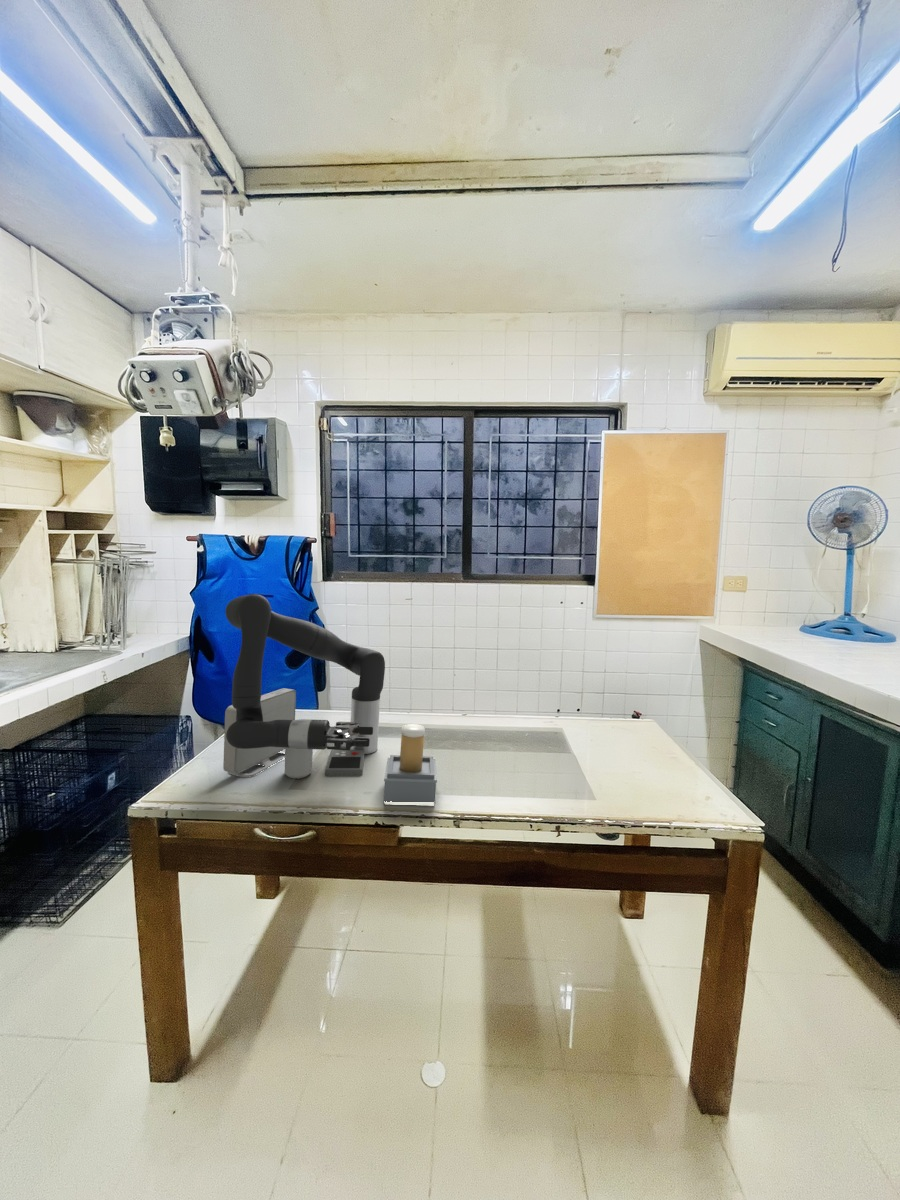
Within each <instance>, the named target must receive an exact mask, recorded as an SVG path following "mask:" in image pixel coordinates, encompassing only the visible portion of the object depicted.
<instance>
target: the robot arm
mask: <svg viewBox="0 0 900 1200" xmlns="http://www.w3.org/2000/svg"><path fill="white" fill-rule="evenodd" d="M225 617H226V620H227V621H228V622H229V623H230V625H231V626H233V627H234V628H236V629H238V630H241V642H240V643H241V644H240V652H239V656H238V658H237V661H236V664H235V668H234V671H233V674H232V690H231V705H233V707H234V708H235V709H236V713H237V721H236V722H234V723H233V724H232V725H231V726H230V727H229V728H228V730H227V733H226V738H227V741H228V743H229V744H230V745H231V746H233V747H235V748H240V749H250V748H262V747H284V748H296V749H313V750H318V751H319V750H330V751H331V750H365V751H364V755H368V754H372V753H375V752H377V750H378V747H379V746H378V745H379V744H378V741H379V726H380V725H379V724H380V708H381V707H380V705H381V704H380V703H381V693H382V691H383V689H384V681H385V675H386V674H385V672H386V661H385V657H384V656H383V654H382V652H380V651H377V650H374V649H370V648H367V647H363V646H360V645H359V646H358V645H354V644H352V643H349V642H346V641H344V640H342V639H341V638H340V637H338V635H336V634H335V633H333V632H331V631H330V630H328V629H326V628H325V627H322V626H320V625H318V624H316V623H314V622H311V621H307V620H305V619H301V618H295V617H292V616H287V615H283V614H280V613H277V612H275V611H273V610H272V606H271V603H270V602H269V600H268V599H267V598H266V597H265V596H264V595H261V594H257V593H255V594H254V593H251V594H245V595H241V596H240V595H239V596H238V597H236V598H233V599H232V600H231V601H229V602H228V603H227V605H226V606H225ZM267 638H270V639H271V640H274V641H276V642H278V643H280V644H281V645H284V646H286V647H288V648H290V649H292V650H295V651H298V652H299V653H302V654H304V655H307V656H308V657H309V656H310V657H312V658H315V659H318V660H322V661H326V662H331V663H334V664H337V665H339V666H341V667H343V668H344V669H346V670H348V671H349V672H352V673H353V674H355V675H357V676H358V677H359V680H358V682H359V683H358V686H355V687H353V688H352V691H351V704H350V706H351V707H350V721H337V722H335V726H331V725H330V721H329V720H328V719H307V718H306V719H305V718H304V719H302V718H300V719H295V720H273V721H269V722H264V721H263V715H262V708H261V703H260V701H261V695H262V679H263V677H262V675H263V663H264V656H265V648H266V643H267Z"/></svg>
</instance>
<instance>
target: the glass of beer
mask: <svg viewBox="0 0 900 1200" xmlns="http://www.w3.org/2000/svg"><path fill="white" fill-rule="evenodd" d="M400 733H401V737H400V738H401V739H400V770H401V771H403V772H406V773H417V772H420V771H421V770H422V760H423V756H424V744H425V743H424V741H425V733H426V728H425V726H424V725H421V724H417V723H407V724H403V725H402V726H401V732H400Z"/></svg>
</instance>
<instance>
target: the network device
mask: <svg viewBox="0 0 900 1200" xmlns="http://www.w3.org/2000/svg"><path fill="white" fill-rule="evenodd" d="M260 703H261V708H262V715H263V721H264V722H269V721H273V720H296V704H297V691H296V690H295V689H292V688H286V687H285V688H284V687H283V688H279V689H277V690H273V691H271V692H269V693H264V694H261V701H260ZM236 721H237V713H236V709H235V708H234V707H233V705H232V704H231V705H228V706H227V708H226V709H225V711H224V734H223V735H224V736H223V737H224V738H223V771H224V772H227V773H229V774H230V773H231V774H233V775H232V776H235V775H238V776H237V777H239V776H243V777H242V778H250V777H249V776H253V777H255V776H254V775H256V774H258V773H260V772H261V771H263V770H265V769H267V768H268V767H270V766H271V765H273V764H275V763H277V762H278V761H280V760H282V759H283V756H281V757H280V758H277V759H276V760H270V758H271V757H273V756H275V755H276V754H278V752H280V751H285V748H284V747H262V748H250V749H240V748H235V747H233V746H231V745H230V744H229V743H228V741H227V738H226V733H227V730H228V728H229V727H230V726H231V725H232V724H233V723H234V722H236ZM284 758H285V757H284ZM256 764H260V765H264V766H265V767H263V766H262V767H261V768H260V769H257V770H256V771H253V772H251V773H246V772H243V771H246V770H248V769H250V768H251V767H254V766H257V765H256ZM270 768H271V767H270ZM267 770H268V769H267ZM265 771H266V770H265ZM263 772H264V771H263ZM261 773H262V772H261ZM261 773H260V774H261ZM231 774H230V775H231ZM258 775H259V774H258ZM256 776H257V775H256Z"/></svg>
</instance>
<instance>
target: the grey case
mask: <svg viewBox="0 0 900 1200" xmlns="http://www.w3.org/2000/svg"><path fill="white" fill-rule="evenodd" d="M386 760H387V761H386V766H385V772H384V778H383V781H384V789H383V793H384V794H383V802H384V801H385V802H386V801H387V802H390V801H392V802H434V801H435V802H436V791H437V790H436V789H437V783H438V776H437V764H436V763H437V762H436V758H434V756H430V755H428V756H427V755H425V756H424V755H423V760H422V770H421V771H420V772H417V773H406V772H403V771H401V770H400V755H399V754H398V755H397V754H396V755H395V754H390V755H389V757H387V759H386Z"/></svg>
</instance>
